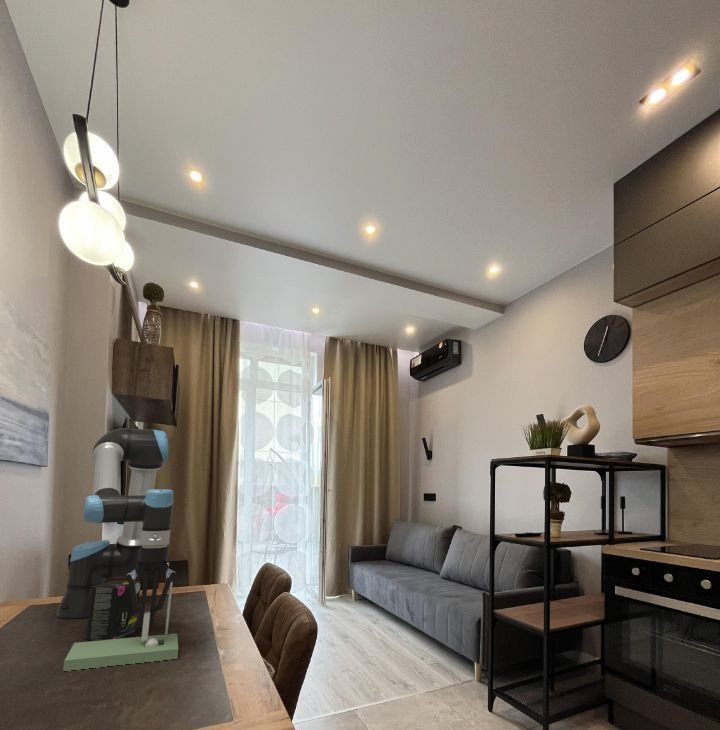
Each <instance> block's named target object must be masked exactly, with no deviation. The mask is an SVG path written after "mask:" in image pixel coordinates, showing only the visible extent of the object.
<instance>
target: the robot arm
mask: <svg viewBox="0 0 720 730" xmlns="http://www.w3.org/2000/svg"><path fill="white" fill-rule="evenodd" d="M91 457H92V460H93V462H94V473H93V486H92V487H93V488H92V495H88V496H86V497H85V501H84V507H83V516H82V520H83V522H84V523H95V524H105V523H123V528H122V533H121V535H120V536H118V537H117V538H116V543H114V544H111V542H110V540H108V539H104V540H96V541H95V540H94V541H87V542H84V543H81V544H77V545H75V546H74V547H73V549H72V552H71V556H70V559H69V562H70V565H69V570H68V576H67V577H68V578H67V582H66V588H65V592H64V594H63V596H62V599H61V600H60V603H59V605H58V606H57V612H56V617H58V618H61V619H82V618H83V619H84V618H88V617H89V609H90V601H91V593H92V587H93V586H95V585H99V584H103V583H106V582H105V581H106V580H108V579H109V580H111V579H125V580H127V581H128V582H129V586H130V593H131V601H132V608H133V611H134V612H137V614H139V615H138V627H142V631H141V637H142V638H141V641H146V640H147V639H148V636H149V628H150V626H154V624H155V623H154V622H155V614H156V612H159V611H161V610H162V609H163V606H164V603H165V601H166V597H167V595H168V593H169V591H168V589H169V586H170V583H171V582H173V579H174V578H175V577H176V574H177V573H176V571H175V570H172V569H170V568H169V564H168V556H169V547H168V545H169V544H170V539H171V538H170V537H171V526H172V525H171V524H172V523H171V522H172V516H173V506H174V495H175V494H174V490H172V489H165V488H163V489H160V488H159V489H157V488H156V489H155V486H156V479H157V474H158V473H157V472H158V471H159V470H161V468H162V467H163V464H164V463H167V462H168V458H169V440H168V435H167V432H165V431H164V430H158V429H146V428H145V429H144V428H126V427H121V428H116V429H113V430H110V431H109V432H106V433H105V434H104V435H102V436H101V437H100V438H99V439H98V440H97V441H96V443H95V444H94V445H93V448H92V456H91ZM122 461H123V462H128V463H127V466H128V468H129V469H130V470H131V473H130V481H129V487H128V494H127V495H122V493H121V491H122V490H121V487H122V485H121V478H122V477H121V476H122V475H121V462H122ZM165 574H166V576H165V577H166V580H165V582H164V583H165V585H164V588H163V591H161V595H160V598H159V600H158V603H157V597H158V596H157V595H158V587H159V581H160V580H161V579H162V577H164V575H165ZM137 577H138V578H139V579H140V582H141V583H142V586H141V588H142V590H141V598H140V605H139V604H138V602H137V595H136V587H135V581H136V579H137ZM149 583H152V591H151V598H150V608H149V609H150V610H148V611H146V603H147V595H148V594H147V593H148V587H149V586H148V585H149Z"/></svg>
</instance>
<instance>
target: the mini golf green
mask: <svg viewBox="0 0 720 730" xmlns="http://www.w3.org/2000/svg"><path fill="white" fill-rule="evenodd" d="M173 584H174V583H173V581H171V583H170V586H169V589H168V598H167V599H168V600H167V608H166V609H167V610H166V617H165V618H166V621H165V631H164V634H157V635H155V634H154V635H148V639H150V638H155V639H156V640H157V641H158V646H149V647H144V644H145V642H146V641H147V640H148V639H147V640H146V641H141V638H142V636H136V637H123V638H121V639H111V640H100V641H93V640H88V641H82V642H81V641H79V642H74V643H73V644H72V646H71V648H70V650H69V651H68V653H67V656H66V657H65V659H64V660H63V668H62V669H63V670H62V672H63V671H68V672H72V671H71V670H77V671H82V670H81V669H86V670H90V669H89V668H96V669H101V668H100V667H105V668H108V667H107V666H114V667H116V666H115V665H123V666H126V665H125V664H132V665H136V664H135V663H142V664H145V663H144V662H151V663H155V662H154V661H160V662H164V661H163V660H169V661H172V660H171V659H177V660H178V659H179V658H178V657H179V642H178V641H179V639H178V633H169V634H168V632H169V631H168V630H169V622H170V612H171V611H170V610H171V602H172V594H173V593H172V591H173ZM164 585H165V582H158V587H157V593H158V592H162V591H163V588H164Z"/></svg>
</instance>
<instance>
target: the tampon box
mask: <svg viewBox="0 0 720 730" xmlns="http://www.w3.org/2000/svg"><path fill="white" fill-rule="evenodd" d="M134 581H135V587H136V595H137V602H138V605H139V602H140V593H141V588H142V581H141V580H140V581H138V580H137V581H136V580H134ZM87 618H88V619H87V624H86V625H87V627H86V634H85V640H86V641H100V640H111V639H122V638H126V637H127V635H128V636H130V635H132V634H135V633H136V629H137V628H136V627H137V620H138V612H134V611H133V608H132V601H131V593H130V586H129V582H128V581H127V579H125V580H124V579H123V580H122V579H114V580H111V581H110V580H109V581H107V582H104V583H103V584H99V585H95V586H93V587H92V593H91V601H90V609H89V617H87ZM134 632H135V633H134Z"/></svg>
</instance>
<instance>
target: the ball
mask: <svg viewBox="0 0 720 730" xmlns="http://www.w3.org/2000/svg"><path fill="white" fill-rule="evenodd" d="M149 646H158V641H157V640H156V639H155V638H150V639H148V640H147V641H146V642H145V644H144V647H149Z"/></svg>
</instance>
